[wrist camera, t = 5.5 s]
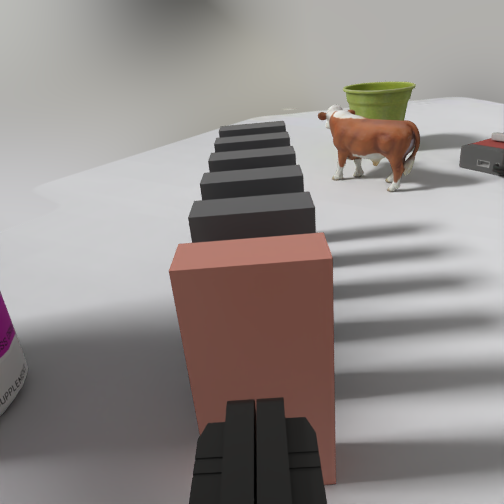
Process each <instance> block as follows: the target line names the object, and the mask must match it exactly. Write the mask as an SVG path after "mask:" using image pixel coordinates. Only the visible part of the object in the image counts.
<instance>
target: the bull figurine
mask: <svg viewBox="0 0 504 504" xmlns="http://www.w3.org/2000/svg"><path fill="white" fill-rule="evenodd" d="M318 118H319V119H320V120H326V119H327V123H326V128H328V129H330V130H331V133H332V136H333V143H334V145H335V147H336V148H337V150H338V162H337V167H338V169H337V171H336V174H335V175H334V176H333V177H332V179H333V180H340V179H341V178H343V172H342V171H343V168H344V166H345V164H346V159H349V160H353V159H354V162H355V164H356V171H355V173H354V175H353V176H354V177H360V176H361V175H363V174H364V172H363V170H362V168H361V158H363V159H370V160H371V161H372V162H373V165H374V166H377V165H378V163H379V162H380V160H381V159H382V158H384V157H386V158H387V159H388V160H389V162H390V164H391V167H392V170H393V172H392V174H391V175H390V176H388V178H387V179H386V180H385V181H386V182H389V183H391V182H392V184H391V185H390V187H389V188H388V189H387V191H389V192H394V191H396V188H397V189H398V188H399V187H400V179H401V176H402V173H403V172H404V174H405V175H406V176H407V175H408V174H409V173H410V172H411V169H412V167H413V164H414V160H415V155H416V152H417V150H418V148H419V144H420V134H419V131H418V128H417V127H416V125H415V124H414V123H413V122H411V121H406V120H405V121H399V120H380V119H368V118H365V117H362V116H358V115H355V111H354V110H348V111H346V110H342V108H341V107H340V106H339V105H333V106H331V107H330V108H329V109H328V112H327V113H324V112H321V113H319V114H318ZM414 146H415V148H414ZM413 148H414V150H413V153H412V155H411V156H410V157H409V158H408V159H407V160H406V161H405V158H406V156H407V155H408V154H409V153H410V152H411V150H412V149H413Z"/></svg>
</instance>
